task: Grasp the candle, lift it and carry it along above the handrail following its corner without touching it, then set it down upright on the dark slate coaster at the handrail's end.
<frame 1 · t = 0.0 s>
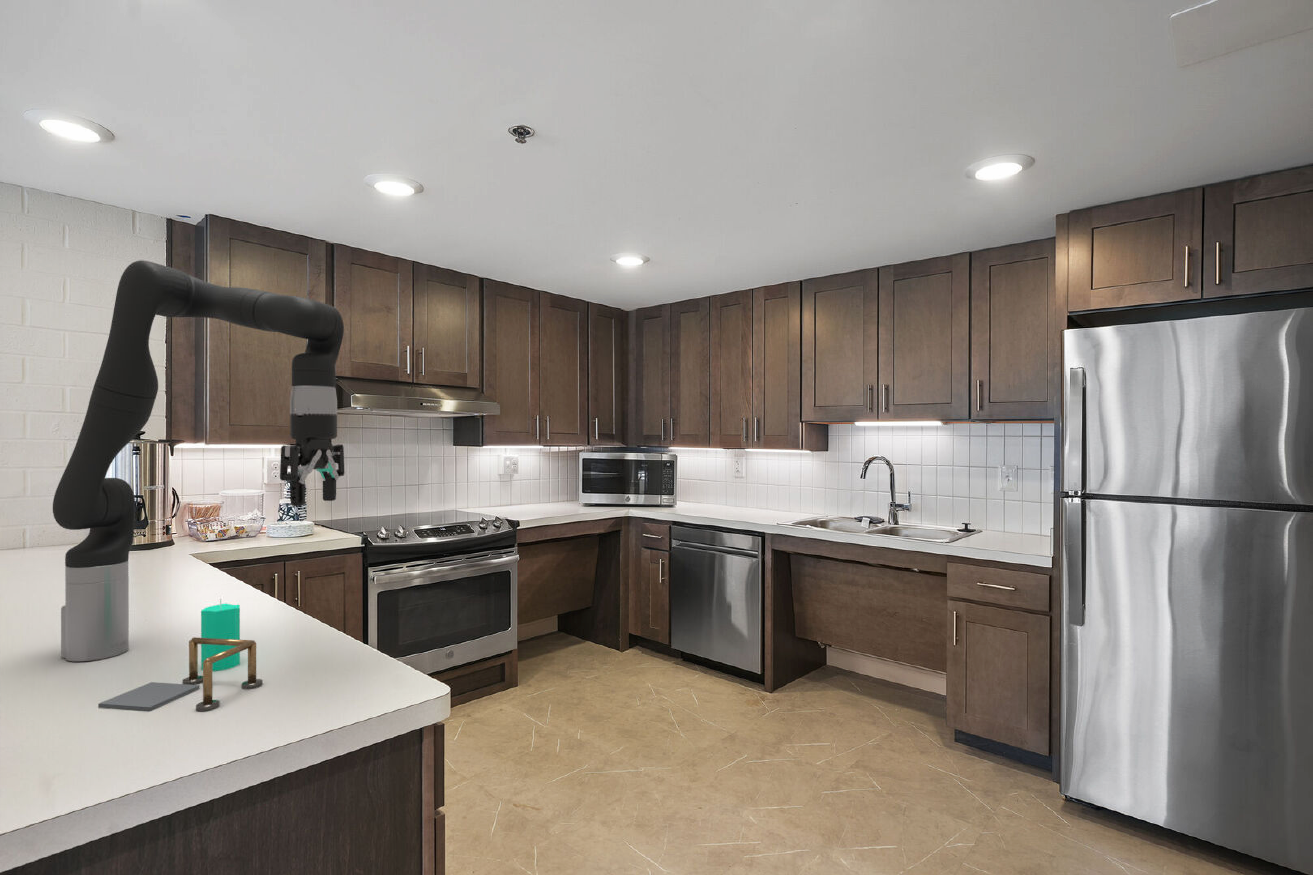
hand: (314, 502, 120), 29 cm above the worktop, fingers open, 8 cm apart
handrail: (193, 682, 113), on the worktop
candle: (220, 666, 121), on the worktop
coaster: (150, 697, 106), on the worktop
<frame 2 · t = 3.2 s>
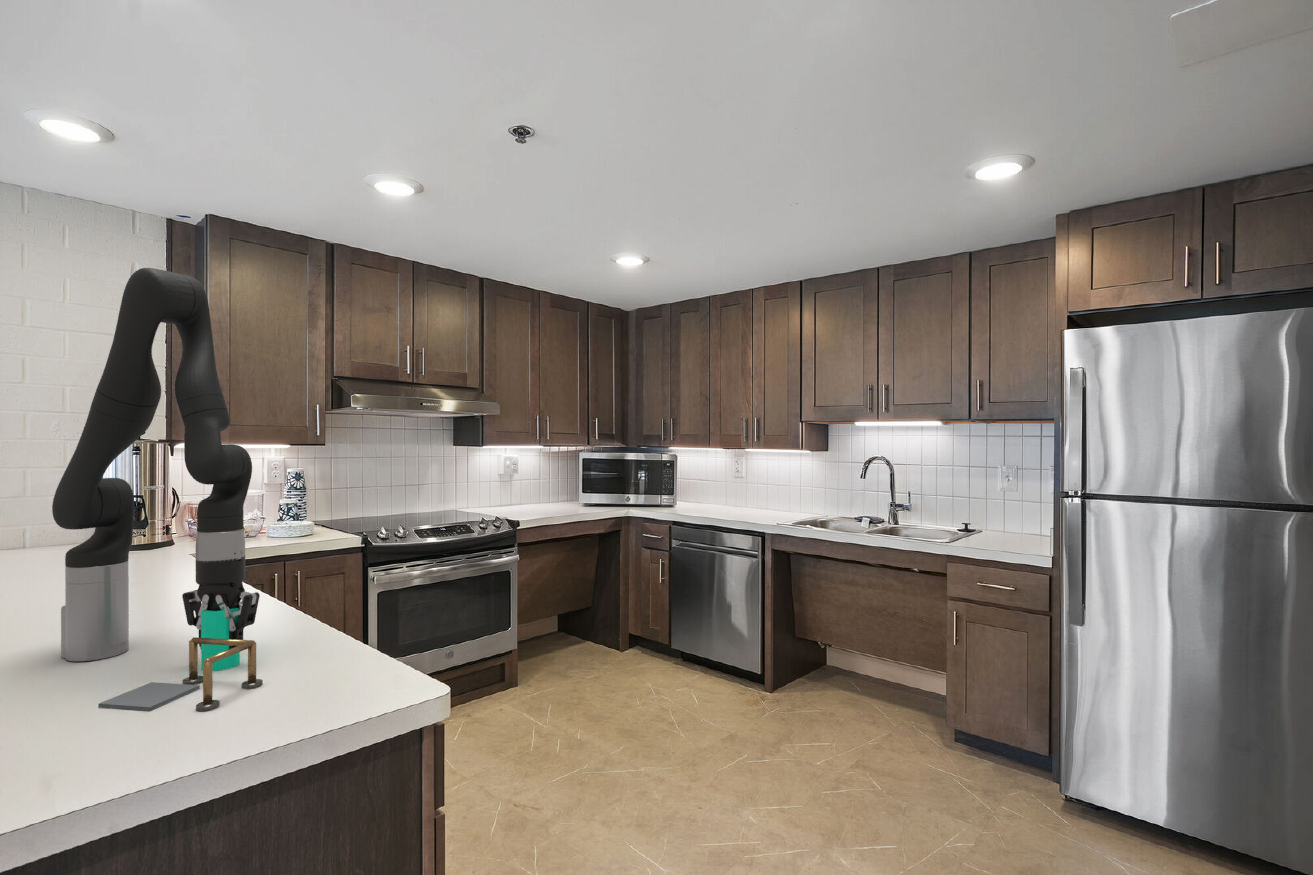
hand: (221, 649, 121), 3 cm above the worktop, fingers closed on candle, 5 cm apart
candle: (220, 666, 121), on the worktop, touching gripper
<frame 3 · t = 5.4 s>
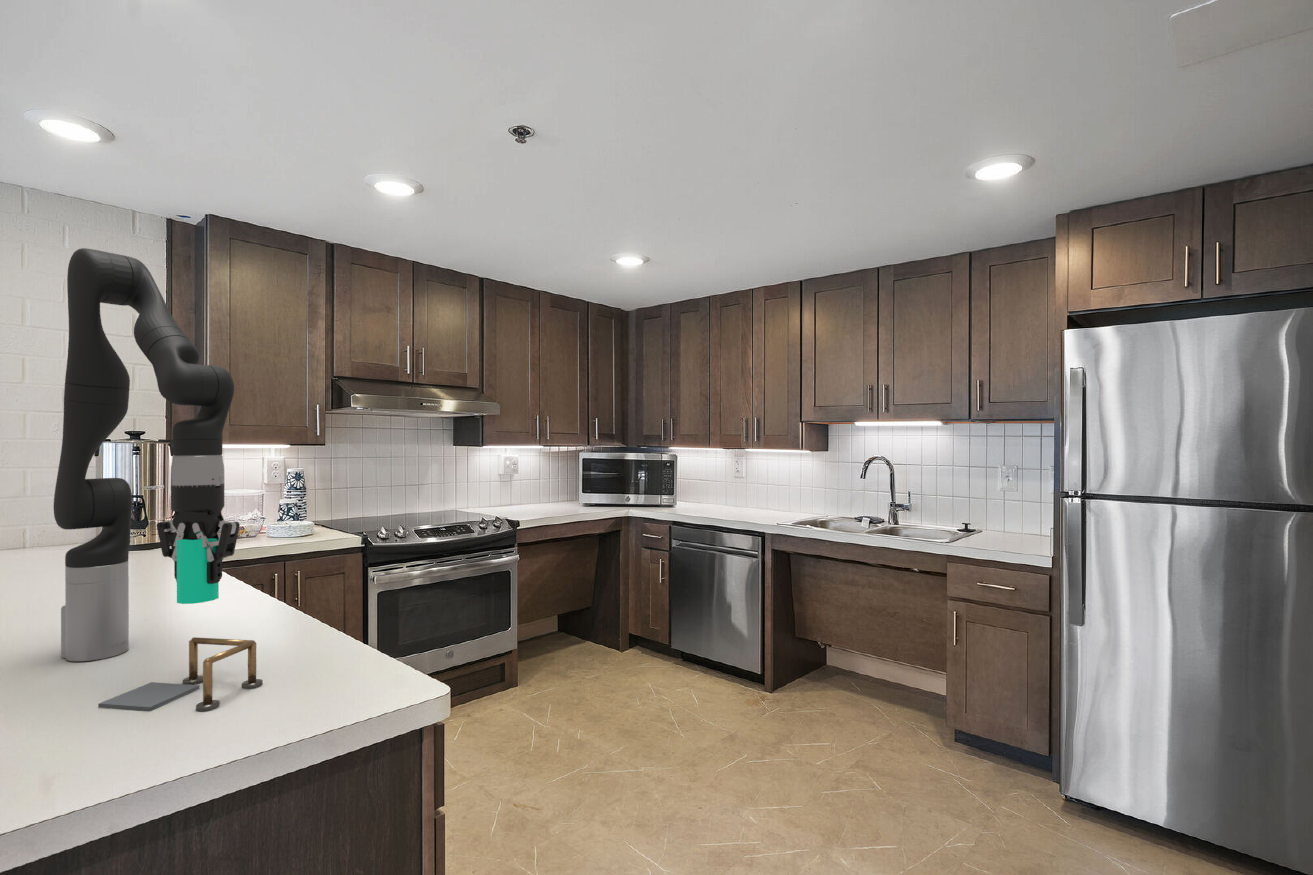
hand: (198, 582, 114), 17 cm above the worktop, fingers closed on candle, 5 cm apart
candle: (197, 600, 114), point 13 cm above the worktop, touching gripper
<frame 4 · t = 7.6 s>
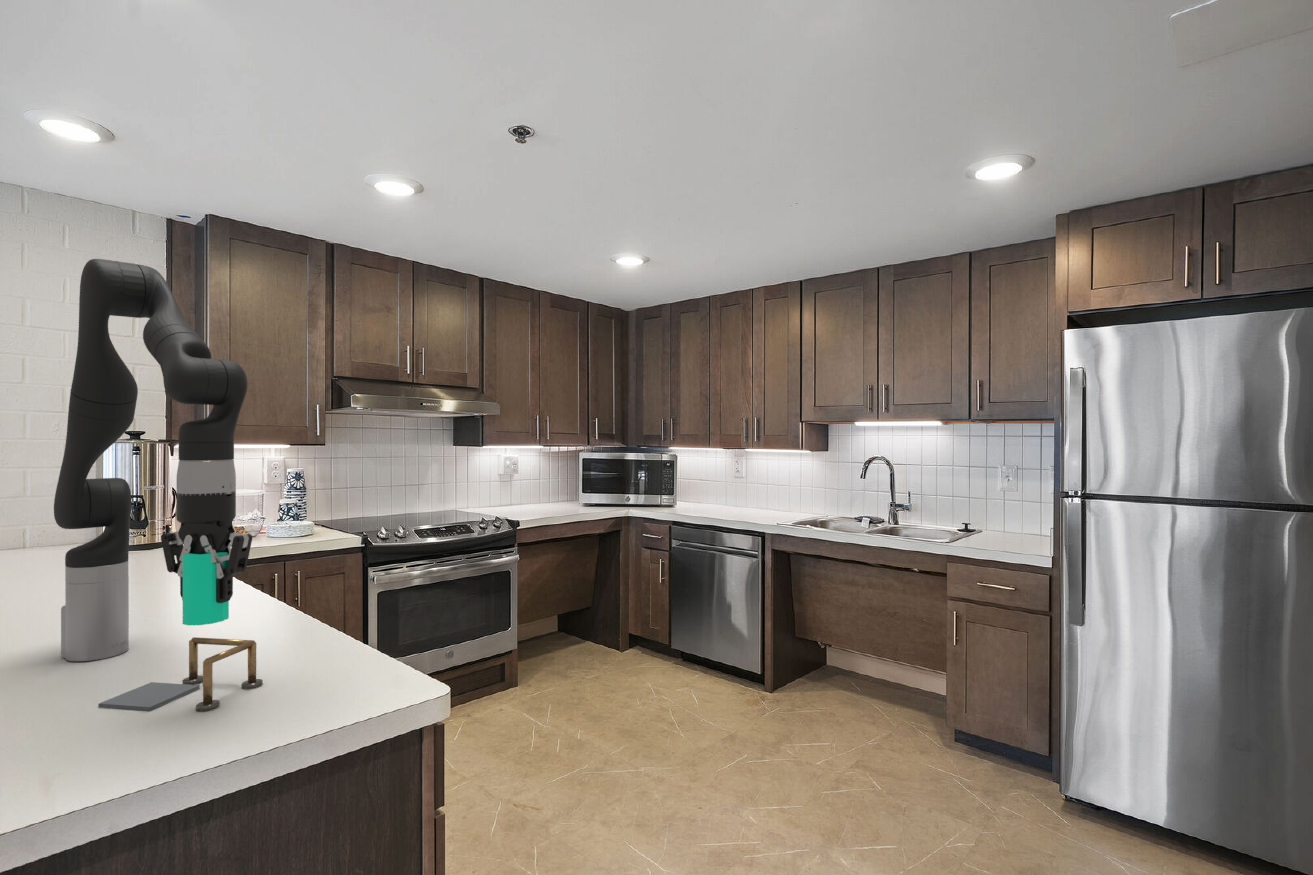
hand: (206, 600, 102), 16 cm above the worktop, fingers closed on candle, 5 cm apart
candle: (206, 621, 102), point 13 cm above the worktop, touching gripper
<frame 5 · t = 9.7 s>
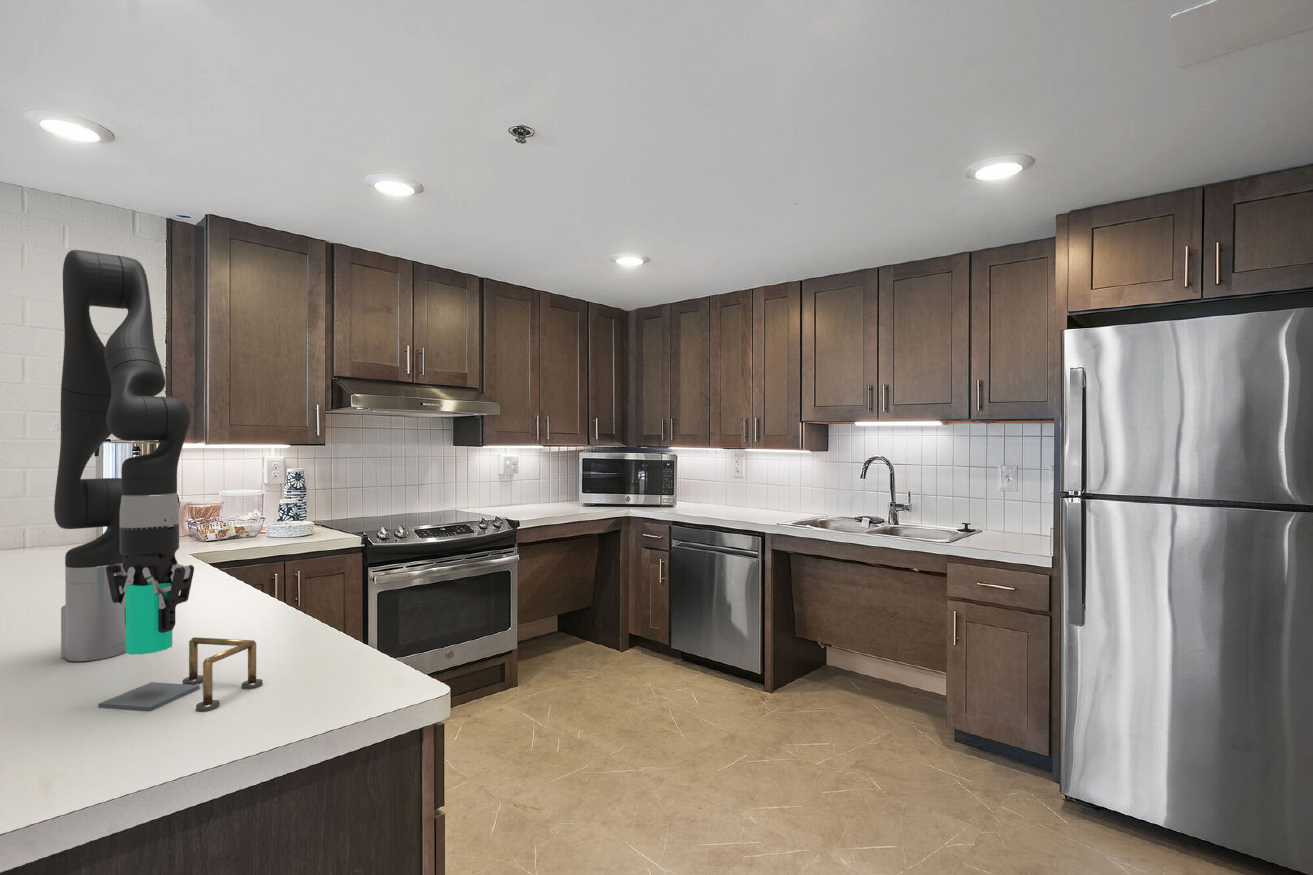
hand: (150, 629, 106), 11 cm above the worktop, fingers closed on candle, 5 cm apart
candle: (149, 649, 106), point 8 cm above the worktop, touching gripper
when the fingers open (5 cm above the worktop, at t = 11.6 s): candle drops 1 cm, resting on coaster.
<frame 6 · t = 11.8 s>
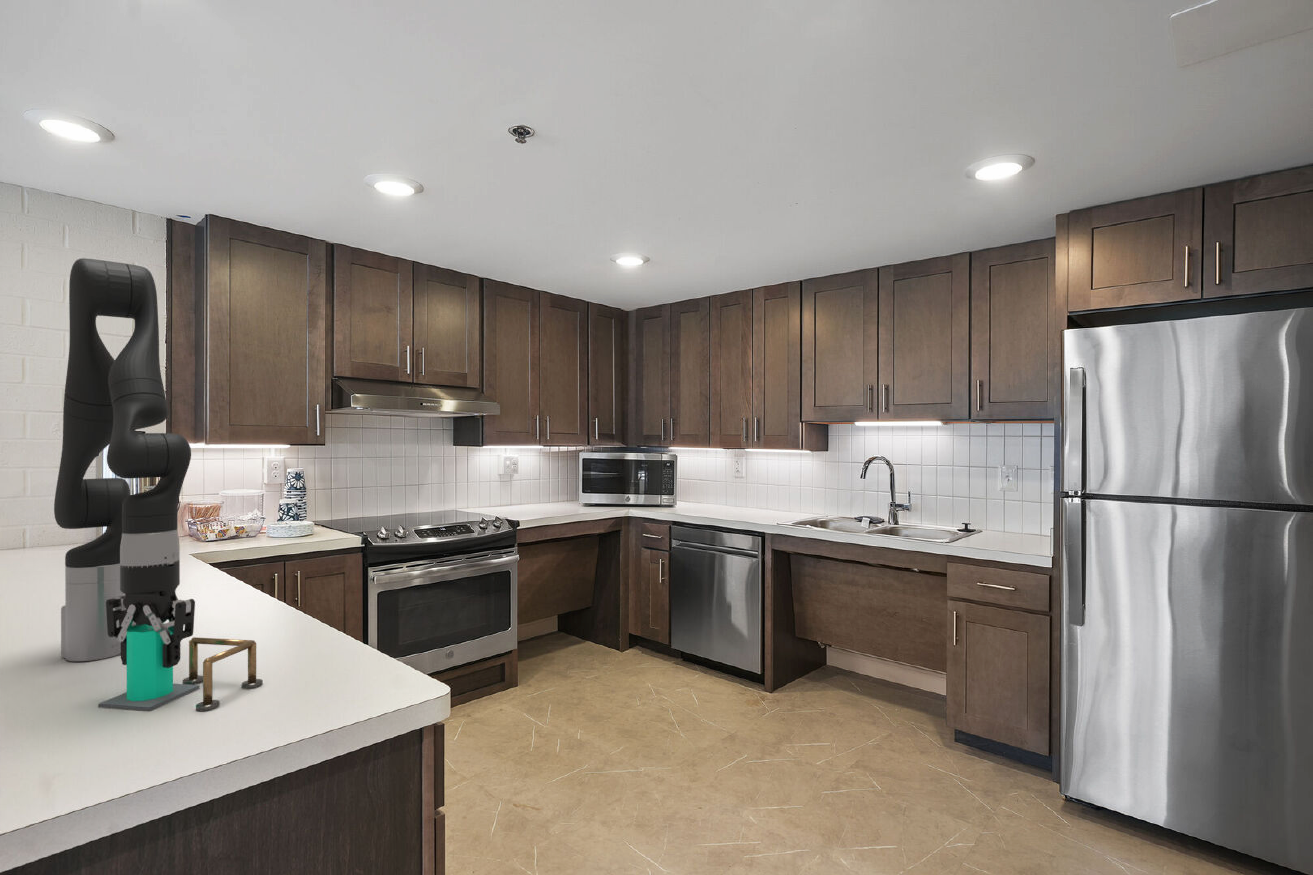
hand: (150, 664, 106), 5 cm above the worktop, fingers open, 6 cm apart
candle: (150, 694, 106), resting on coaster
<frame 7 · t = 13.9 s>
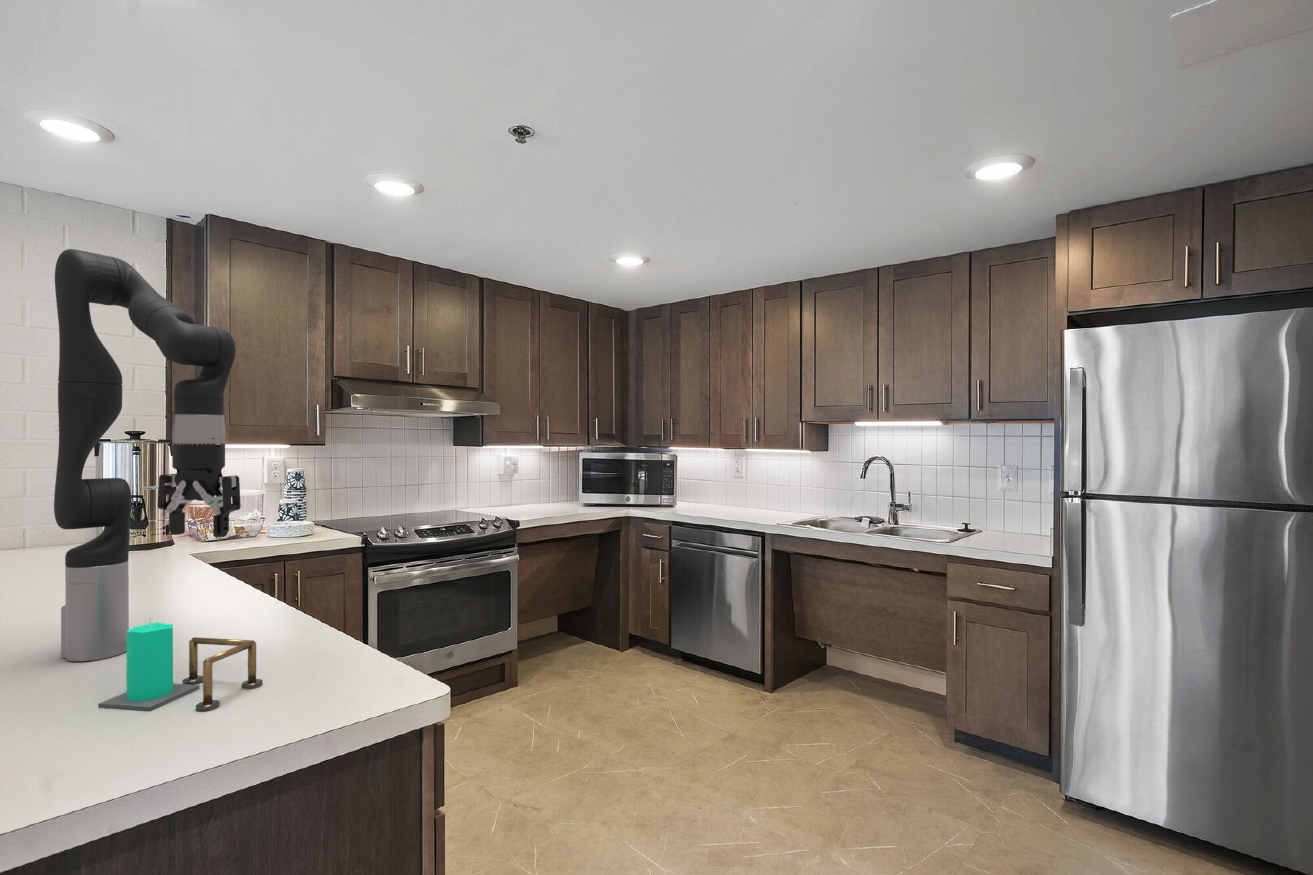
hand: (198, 535, 116), 24 cm above the worktop, fingers open, 8 cm apart
nothing on the worktop moved.
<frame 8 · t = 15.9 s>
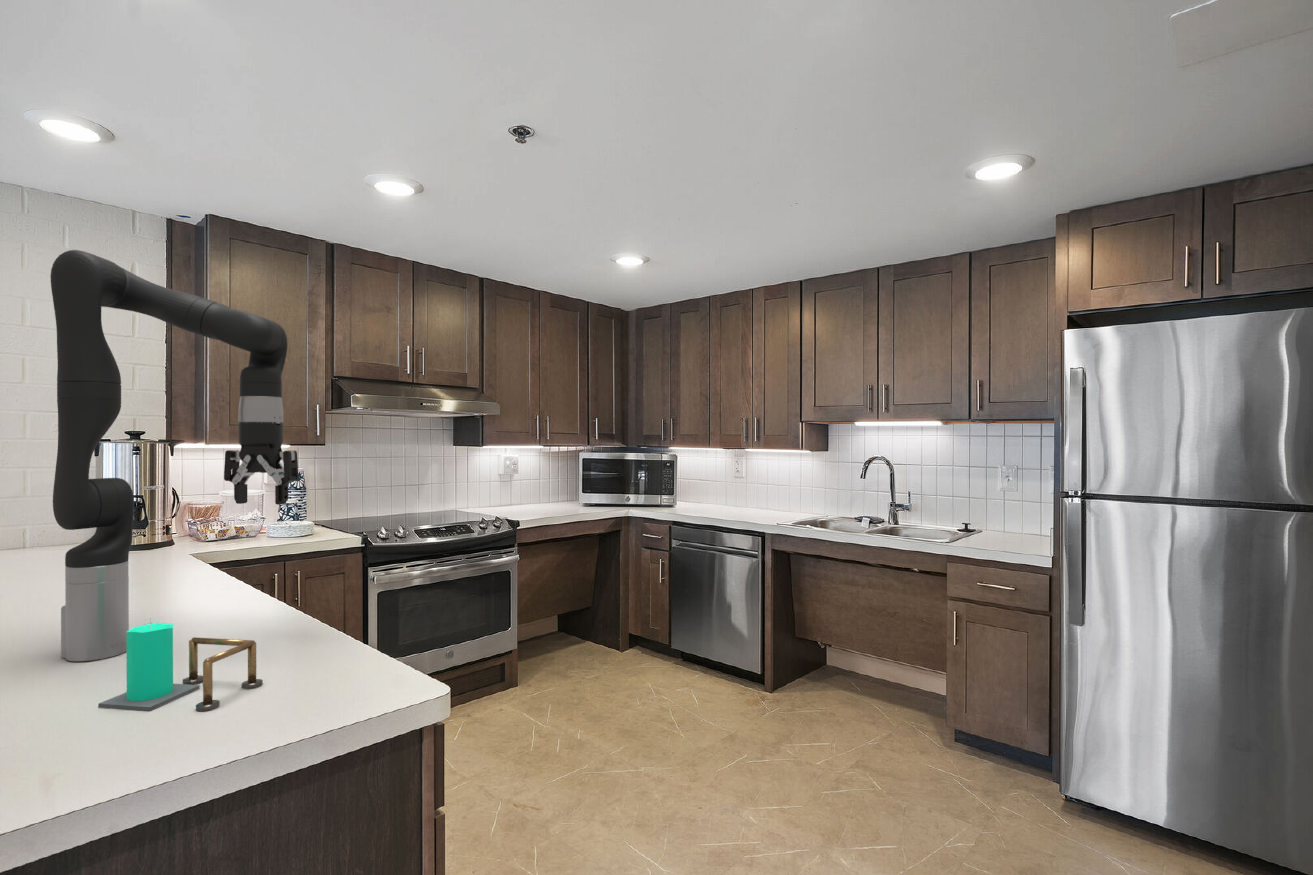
hand: (261, 503, 131), 28 cm above the worktop, fingers open, 8 cm apart
nothing on the worktop moved.
at the end: candle inside the target area on the coaster (0.2 cm from its centre), point 0.4 cm above the coaster's base; candle tilted 0°; candle touching coaster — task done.
